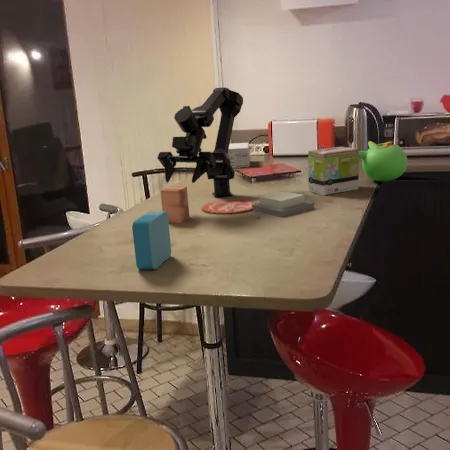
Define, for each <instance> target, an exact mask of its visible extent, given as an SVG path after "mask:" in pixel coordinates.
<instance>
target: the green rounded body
mask: <svg viewBox="0 0 450 450" xmlns="http://www.w3.org/2000/svg"><path fill="white" fill-rule="evenodd" d="M367 145H368V149H367V150H359V159H361V160H362V161H361V166H362V170H363V172H364V174H365V175H366V176H367V177H368V178H370V179H371V180H373V181H375V182H376V181H377V182H381V183H382V182H390V181H394V180H396V179H398V178H400V177H401V176H402V175H403V174H404V173H405V171H406V169H407V167H408V157H407V154H406V152H405V150H404V149H403V148H402V147H401V146H399V145H397V144H393V141H387V142H382V143H378V144H377V143H375V142H373V141H371V140H369V141H368V142H367Z"/></svg>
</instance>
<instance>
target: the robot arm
mask: <svg viewBox="0 0 450 450" xmlns="http://www.w3.org/2000/svg"><path fill="white" fill-rule="evenodd" d="M243 104H244V97H243V95H242V94H240V93H239V92H237V91H235V90H230V89H229V88H228V87H215V88H213V91H212V93H211V94H210V95H209V97H208V98H207V99H206V100H205V101H204V102H203V104H201V105H199V106H197V107H194V108H193V109H191V106H190V105H183V108H180V109H179V110H178V111H177V112H175V114H174V121H175V122H176V124H177V125H178V127H179V128H180V129H181V131H182V132H183V133H185V136H172V143H171V148H174V149H175V152H176V154H178V155H174V154H173V153H172V152H171V151H160V152H158V155H157V160H158V161H159V163H160V164H161V166H162V167H163V168H164V176H165V182H166V183H169V181H170V180H171V178H172V176H173V175H174V172H175V170H176V169H175V167H176V166H177V163H186V164H196V165H195V167H194V168H195V169H194V172H193V174H192V178H191V183H192V184H194V183H196V182H197V180H199V179H200V177H202V176H203V175H204V174H205V173H206V176H207V179H208V180H213V189H214V190H213V191H214V192H212V195H213V197H214V198H223V197H232V196H233V193H232V192H231V187H230V186H231V185H230V184H231V183H230V180H233V179H235V175H236V173H235V172H236V171H235V169H234V168H232V166H231V165H230V163H231V161H230V159H229V156H228V149H229V144H231V143H230V142H231V138H232V132H233V127H234V121H235V118H236V117H237V116H238V115H239V114H240V112H241V110H242V106H243ZM218 109H219V111H220V113H221V115H220V121H219V126H218V131H217V136H216V140H215V144H214V145H215V146H214V150H213V151H202V148H201V145H202V144H203V140H206V139H207V138H208V137H207V134H206V131H205V130H204V128H210V127H211V126H212V124H213V122H214V119H215V118H214V115H215V114H216V112H217V111H218Z"/></svg>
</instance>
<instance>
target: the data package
mask: <svg viewBox="0 0 450 450" xmlns="http://www.w3.org/2000/svg"><path fill="white" fill-rule="evenodd" d="M131 228H132V230H131V231H132V238H133V247H134V256H135V264H136V267H137V269H138V270H151V269H154V270H155V269H156V270H157V269H158V268H159V267H160V266H161V265H163V264H164V263H165V262H166V261H168V259H169V258H170V257H171V256H172V255H171V254H172V245H171V244H172V243H171V234H170V232H171V231H170V222H168V214H167V212H166V211H162V210H160V211H157V210H156V211H153V210H152V211H151V210H149V211H148V212H146V213H144V214H143V215H141V216H140V217H138V218H137V219H135V220H133V223H132V225H131ZM165 260H166V261H165ZM164 261H165V262H164ZM163 262H164V263H163ZM162 263H163V264H162Z"/></svg>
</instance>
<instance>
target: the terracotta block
mask: <svg viewBox="0 0 450 450" xmlns="http://www.w3.org/2000/svg"><path fill="white" fill-rule="evenodd" d="M160 199H161V208H162V210H161V211H166V212H167V214H168V222H169V223H174V224H175V223H177V224H181V223H183V222H185V221H187V220H188V219H190V208H189V207H190V206H189V197H188V186H170V185H169V186H167V187H165V188H163V189H160Z"/></svg>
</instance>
